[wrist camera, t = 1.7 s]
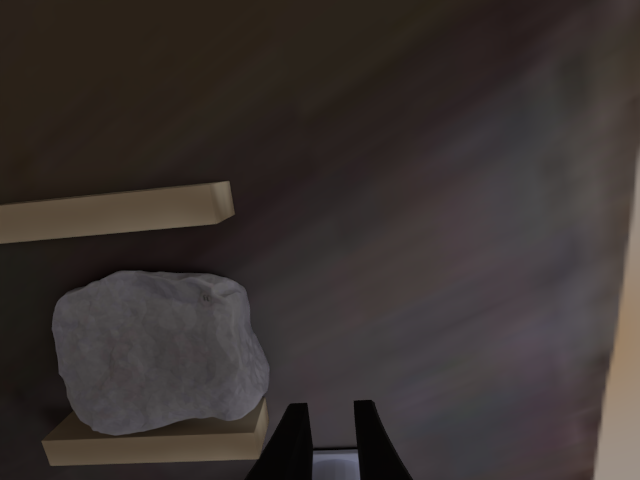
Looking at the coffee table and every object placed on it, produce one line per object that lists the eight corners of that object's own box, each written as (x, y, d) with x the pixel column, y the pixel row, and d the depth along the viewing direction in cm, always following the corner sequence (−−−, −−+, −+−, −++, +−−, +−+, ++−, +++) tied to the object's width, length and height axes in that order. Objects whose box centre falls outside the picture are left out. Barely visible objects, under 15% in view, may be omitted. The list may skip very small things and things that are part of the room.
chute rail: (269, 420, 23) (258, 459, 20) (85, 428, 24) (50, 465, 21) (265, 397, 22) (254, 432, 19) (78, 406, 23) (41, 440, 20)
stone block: (92, 274, 23) (119, 408, 23) (28, 287, 18) (62, 456, 18) (252, 246, 22) (277, 385, 22) (229, 252, 17) (261, 428, 18)
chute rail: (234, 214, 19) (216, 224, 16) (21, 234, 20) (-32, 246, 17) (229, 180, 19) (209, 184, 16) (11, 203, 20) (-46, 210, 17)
